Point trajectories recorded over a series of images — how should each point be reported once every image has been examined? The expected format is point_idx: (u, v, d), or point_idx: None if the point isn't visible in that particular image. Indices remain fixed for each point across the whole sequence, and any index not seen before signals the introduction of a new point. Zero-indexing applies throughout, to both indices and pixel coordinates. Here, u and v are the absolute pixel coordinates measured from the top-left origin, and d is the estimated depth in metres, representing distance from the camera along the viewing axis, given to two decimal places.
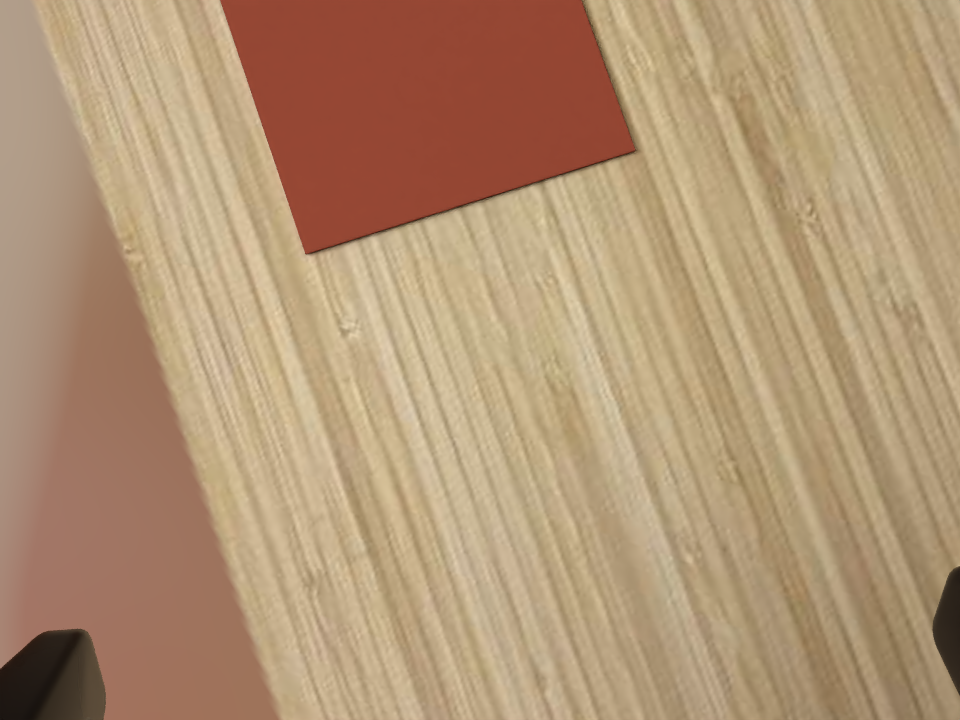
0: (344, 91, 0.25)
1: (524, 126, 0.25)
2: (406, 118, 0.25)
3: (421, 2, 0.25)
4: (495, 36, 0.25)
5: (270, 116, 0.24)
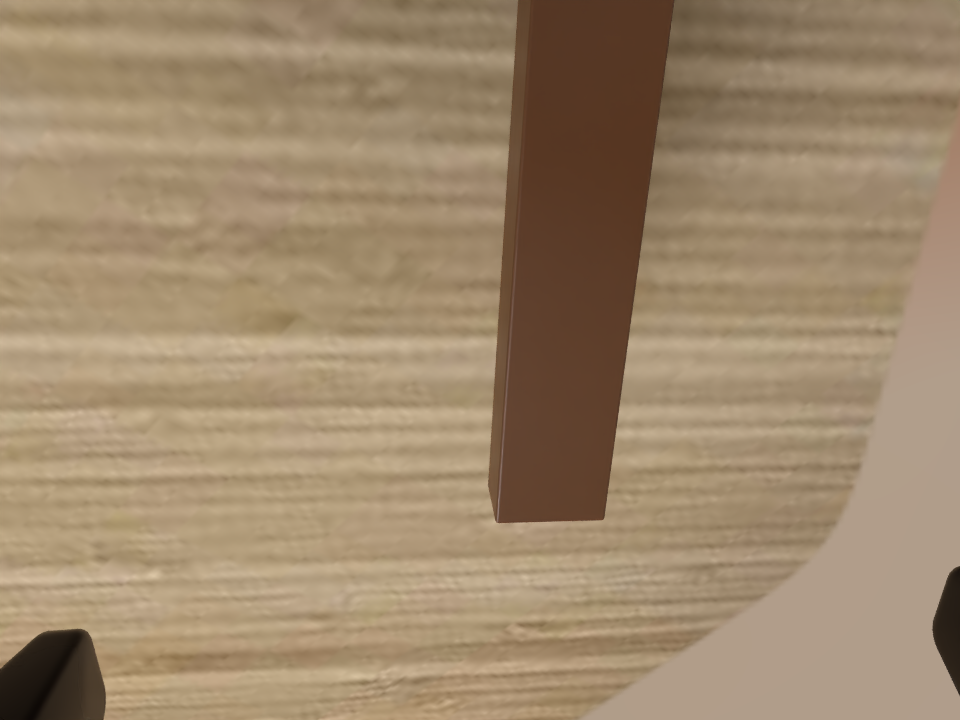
0: None
1: None
2: None
3: None
4: None
5: None
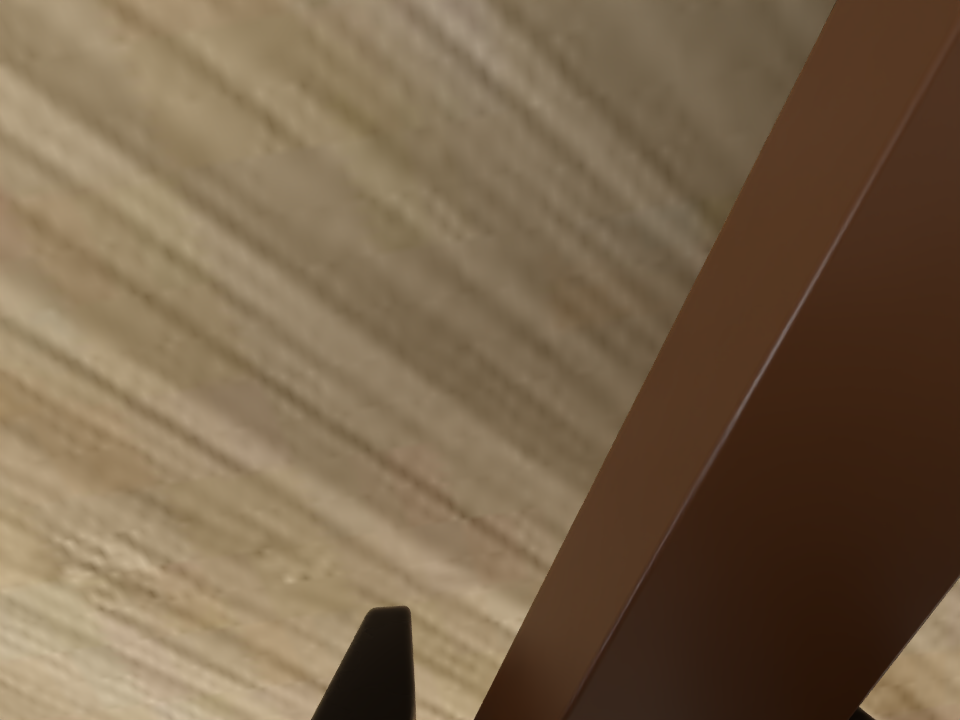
0: None
1: None
2: None
3: None
4: None
5: None
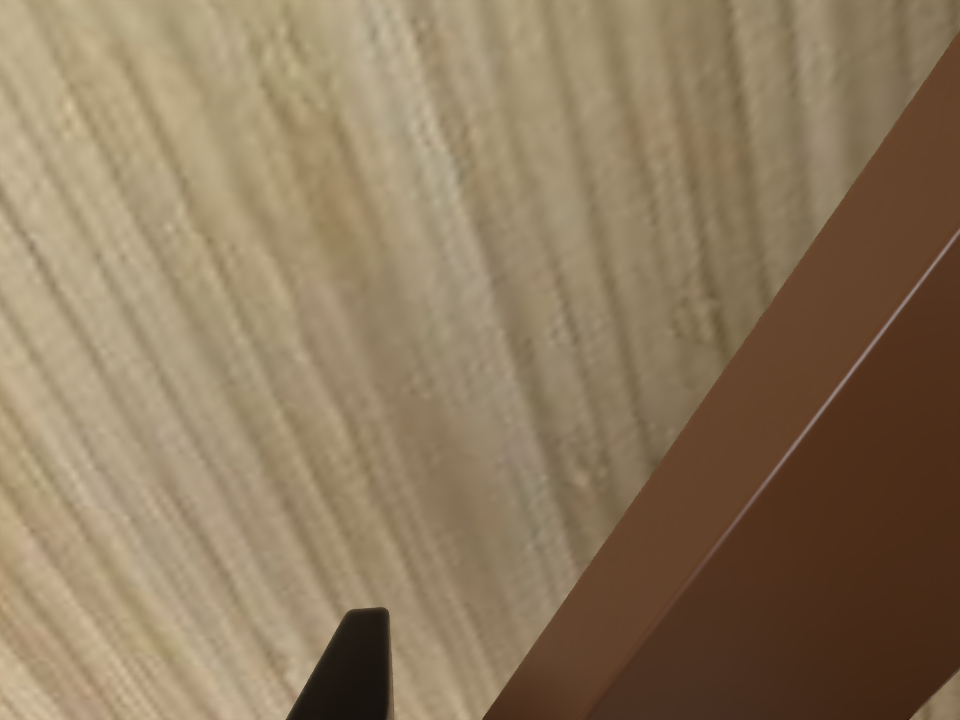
0: None
1: None
2: None
3: None
4: None
5: None
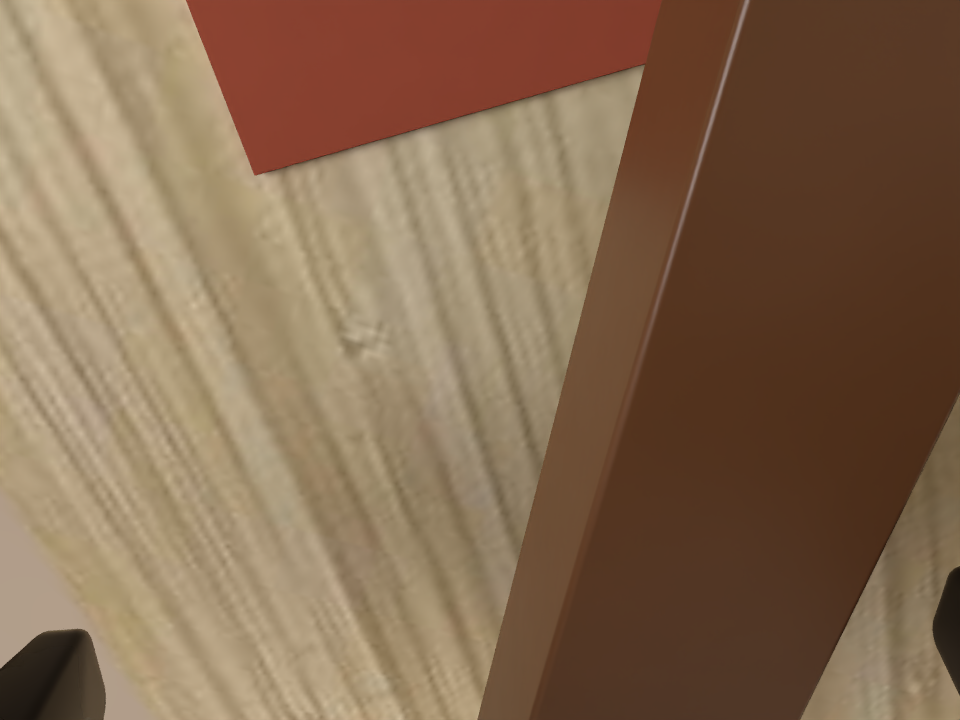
0: None
1: None
2: None
3: None
4: None
5: None
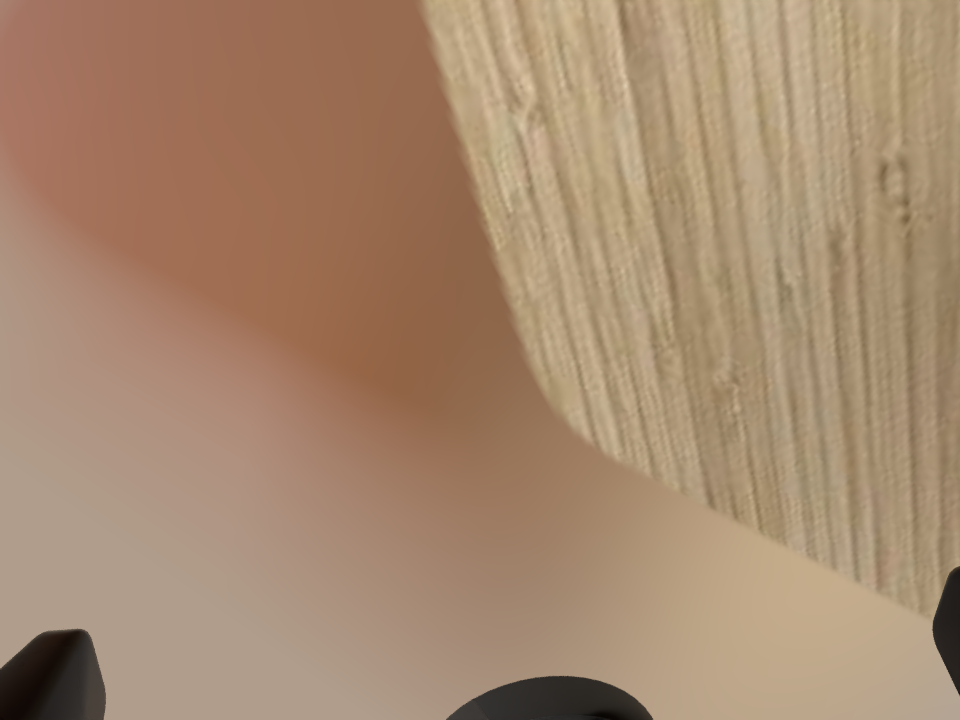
0: None
1: None
2: None
3: None
4: None
5: None
